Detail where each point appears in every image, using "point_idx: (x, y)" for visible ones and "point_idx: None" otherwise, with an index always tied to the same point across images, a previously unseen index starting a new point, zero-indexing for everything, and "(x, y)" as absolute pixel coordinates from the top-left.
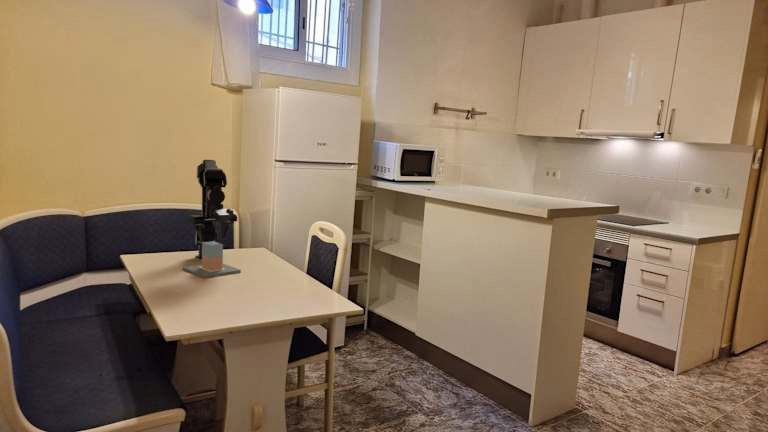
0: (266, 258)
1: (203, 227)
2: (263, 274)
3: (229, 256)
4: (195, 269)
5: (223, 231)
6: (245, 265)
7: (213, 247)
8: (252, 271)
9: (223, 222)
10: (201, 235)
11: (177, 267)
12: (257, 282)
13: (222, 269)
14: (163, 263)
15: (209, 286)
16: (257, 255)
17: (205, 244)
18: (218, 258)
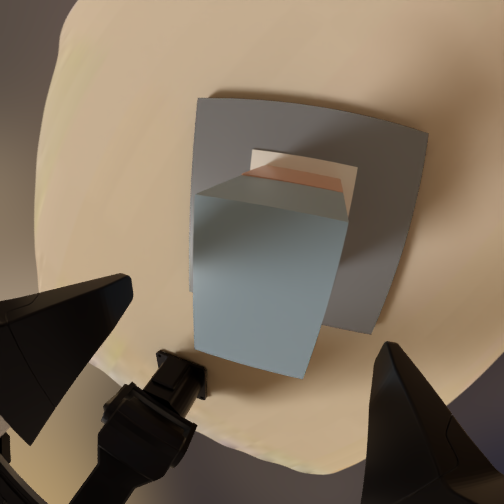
0: (47, 230)
1: (475, 494)
2: (153, 30)
3: (116, 330)
4: (372, 264)
5: (71, 327)
6: (120, 199)
7: (322, 210)
8: (152, 93)
9: (4, 405)
10: (435, 392)
11: (350, 362)
12: None
13: (273, 154)
14: (335, 414)
15: (468, 35)
16: (56, 276)
17: (319, 330)
18: (281, 177)
